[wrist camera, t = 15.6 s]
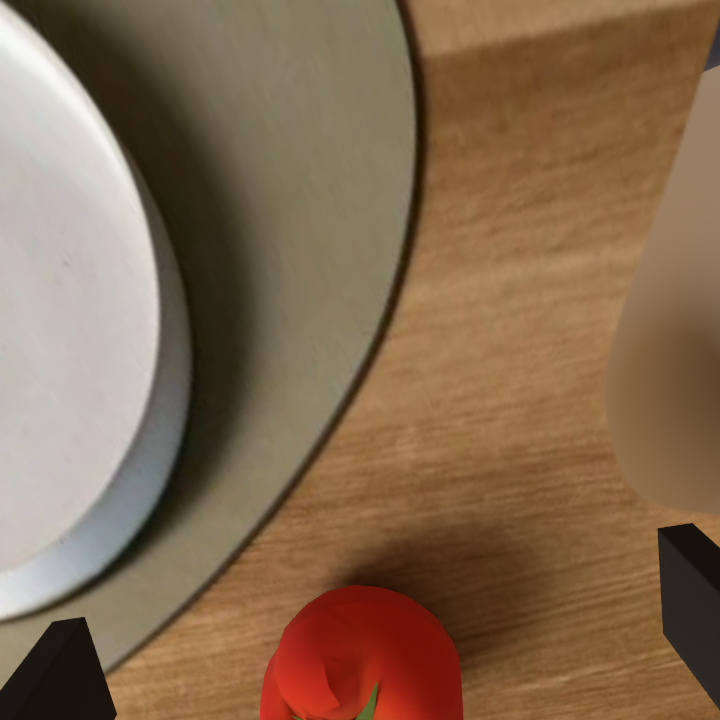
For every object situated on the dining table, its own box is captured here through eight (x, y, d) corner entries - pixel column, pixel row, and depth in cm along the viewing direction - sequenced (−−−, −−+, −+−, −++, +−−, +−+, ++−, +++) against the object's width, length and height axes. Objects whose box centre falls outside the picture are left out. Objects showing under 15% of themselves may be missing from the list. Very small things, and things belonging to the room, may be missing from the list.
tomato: (445, 552, 32) (468, 650, 25) (456, 711, 35) (480, 840, 28) (259, 567, 33) (228, 667, 26) (284, 723, 35) (262, 854, 28)
